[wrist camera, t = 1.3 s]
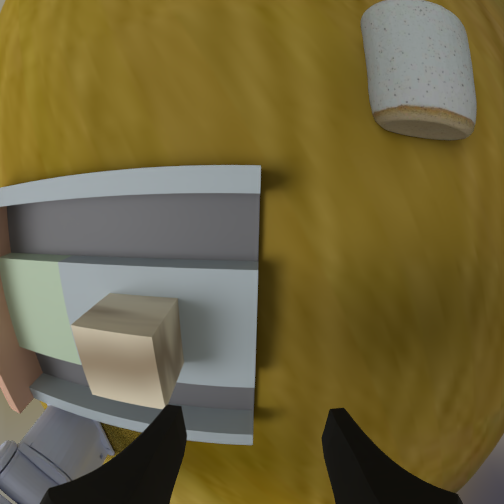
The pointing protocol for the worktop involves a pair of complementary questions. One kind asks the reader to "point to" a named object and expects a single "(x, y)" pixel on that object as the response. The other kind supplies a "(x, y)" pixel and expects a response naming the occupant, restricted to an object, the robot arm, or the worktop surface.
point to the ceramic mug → (419, 70)
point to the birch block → (131, 348)
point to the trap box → (134, 286)
